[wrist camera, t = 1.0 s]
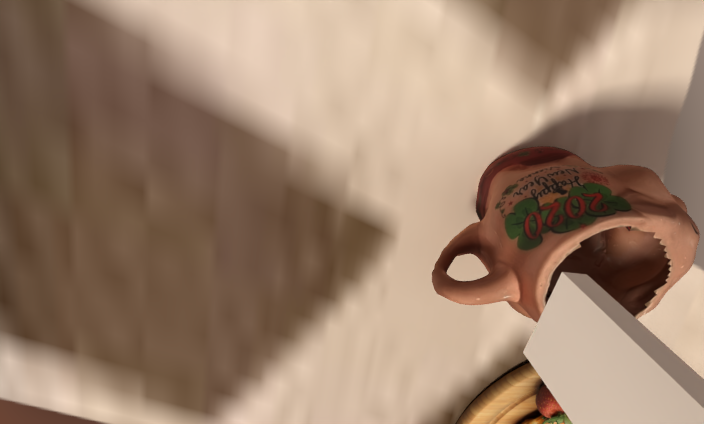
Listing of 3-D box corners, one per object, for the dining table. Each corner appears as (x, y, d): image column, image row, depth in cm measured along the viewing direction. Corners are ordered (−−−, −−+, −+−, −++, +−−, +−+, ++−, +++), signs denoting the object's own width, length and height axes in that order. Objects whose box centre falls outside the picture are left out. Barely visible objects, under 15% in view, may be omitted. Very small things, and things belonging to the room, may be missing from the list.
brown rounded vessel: (423, 287, 44) (479, 398, 32) (387, 184, 39) (437, 270, 27) (610, 214, 44) (741, 298, 32) (600, 99, 38) (753, 146, 26)
